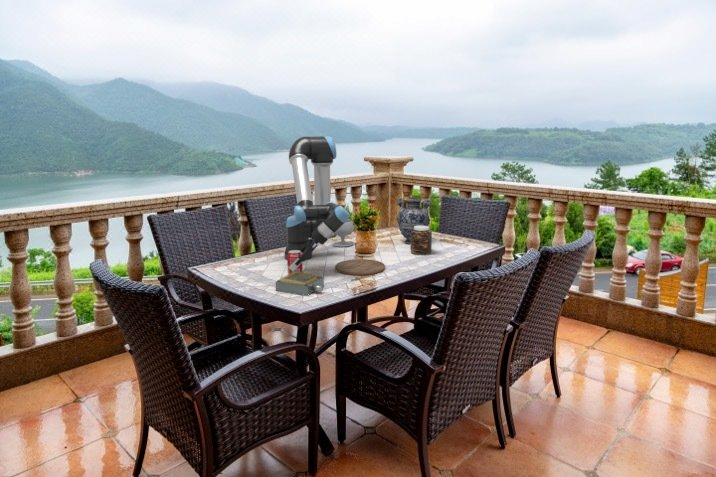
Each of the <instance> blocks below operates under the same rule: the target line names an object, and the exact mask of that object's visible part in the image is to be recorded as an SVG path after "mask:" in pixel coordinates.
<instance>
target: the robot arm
mask: <svg viewBox="0 0 716 477" xmlns="http://www.w3.org/2000/svg"><path fill="white" fill-rule="evenodd" d="M336 159H337V147H336V142H335V140H334V138H333V137H332V136H326V135H325V136H324V135H321V136H307V135H305V136H300V137H298V138H297V139H296V140H295V141H294V142H293V143H292V145H291V146H290V149H289V152H288V162H289V164H290V165H291V168H292V175H293V182H294V189H295V191H294V192H295V196H296V205H294V208H293V215H291V216H288V217H287V219H286V224H285V228H286V247H285V251H284V255H283V256H284V259H285V260H287V255H288V253H289V251H291V250H300V251H301V254H302V255H301V256H298V258H297V259H296V260H295V262H294V263H293V264H292V265H291V266H290V267H289V268H290V269H291V270H292V271H294V270H295V269H296V268H297V267H298V266H299V265H300V264H301V263H302V264H303V262H306V261H307V260H310V259H311V258H313V252H314V250H316V248H317V247H318V244H320V245H325V243H326V242H328V240H329V239H330V238H331V237H333V236H335V232H336V231H337V230H338V229H339V228H340V227H341V226H342V225H343V224H344V223H345V222H346V221H347V220H348V219H349V218H350V217H351V214H350V212H348V211H347V210H346V209H345V207H343V206H342V205H337V203H335V202H333V201H331V165H332V164H333V163H334V160H336ZM309 160H310V163H311V164H312V165H313V176H314V177H313V178H314V179H313V181H314V182H313V189H314V193H313V194H314V200H313V195H312V189H311V182H310V175H309V169H308V162H309ZM313 201H314V202H313Z"/></svg>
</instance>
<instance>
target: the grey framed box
mask: <svg viewBox="0 0 716 477" xmlns="http://www.w3.org/2000/svg"><path fill="white" fill-rule="evenodd" d="M324 279H325V278H324V276H321V275H320V274H316V273H308V272H296V271H295V272H293V273H291V274H289V275H288V274H287V275H285V276H283V277H281V278H280V279H277V281H275V291H277V292H282V291H283V292H284V293H288V292H290V293H289V294H294V293H298V294H297V295H301V294H304V295H303V296H307V295H308V294H310V293H311V294H313V293H314V291H315V292H323V291H324V287H325V280H324ZM312 292H313V293H312ZM311 294H310V295H311ZM308 296H309V295H308Z"/></svg>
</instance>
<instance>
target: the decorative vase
mask: <svg viewBox="0 0 716 477" xmlns="http://www.w3.org/2000/svg"><path fill="white" fill-rule="evenodd" d="M432 202H433V201H432V199H430V198H425V199H424V200H423V199H421V197H417V196H412V197H411V196H410V197H407V199H403V198H397V200H396V205H397V206H399V208H398V214H397V217H396V222H397V224H398V228H399V232H400V233H401V235H402V236H403V238H404V239H405V240H404V242H403V243H404V244H406V245H411V230H413V229H414V226H419V225H422V226H428V227H429V225H430V222H431V218H430V215H429V212H430V211H429V209H428V207H431V206H432Z"/></svg>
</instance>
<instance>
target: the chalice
mask: <svg viewBox="0 0 716 477" xmlns="http://www.w3.org/2000/svg"><path fill="white" fill-rule="evenodd" d="M353 224H354V222H353V220H352V219H349V218H348V220H347V221H346V222H345V223H344V224H343V225H342V226H341V227H340V228H339V229H338V230H337V231H336V232H335V233H334V235H337V236H339V237H340V239H341V240H340V241H336V242H334V243H332V246H334V247H339V248H340V247H341V248H342V247H343V248H344V247H345V248H346V247H352V246H353V243H352V242H350V241H346V240H345V239H346V237H347V236H349V235H350V234H352V233H353V232H354V230H355V225H353Z"/></svg>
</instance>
